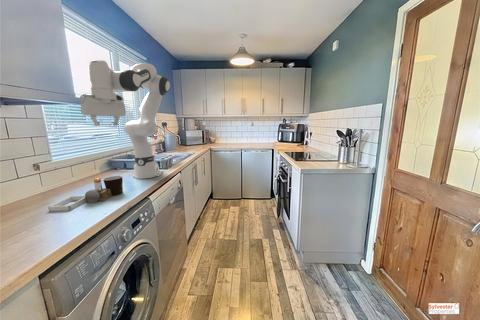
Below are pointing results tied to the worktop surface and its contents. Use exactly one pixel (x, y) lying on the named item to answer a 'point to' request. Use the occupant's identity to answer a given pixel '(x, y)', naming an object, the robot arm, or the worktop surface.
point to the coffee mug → (114, 184)
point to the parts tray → (59, 206)
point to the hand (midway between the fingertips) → (106, 125)
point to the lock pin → (98, 184)
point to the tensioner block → (97, 195)
